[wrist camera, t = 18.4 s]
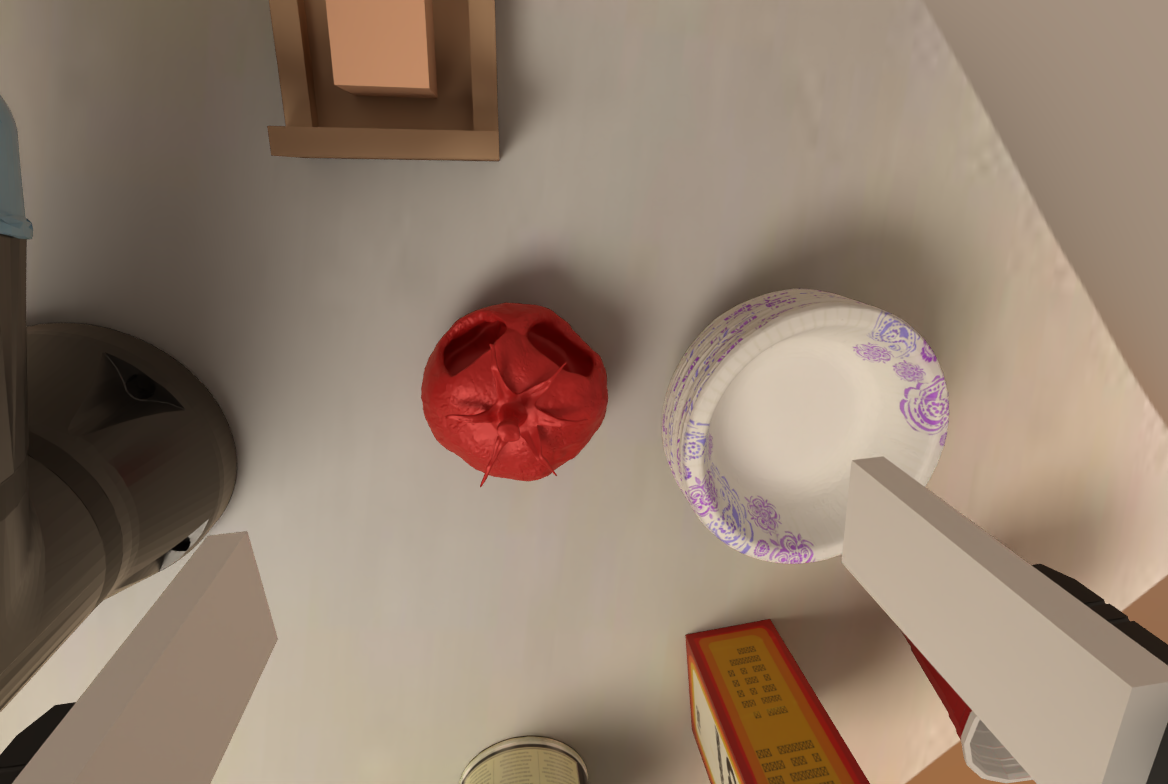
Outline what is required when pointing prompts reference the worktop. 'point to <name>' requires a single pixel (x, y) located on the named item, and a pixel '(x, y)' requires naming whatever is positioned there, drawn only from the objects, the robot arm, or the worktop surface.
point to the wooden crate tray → (388, 124)
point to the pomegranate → (514, 391)
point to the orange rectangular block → (383, 47)
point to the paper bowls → (798, 418)
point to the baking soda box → (760, 712)
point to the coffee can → (526, 763)
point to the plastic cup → (973, 732)
